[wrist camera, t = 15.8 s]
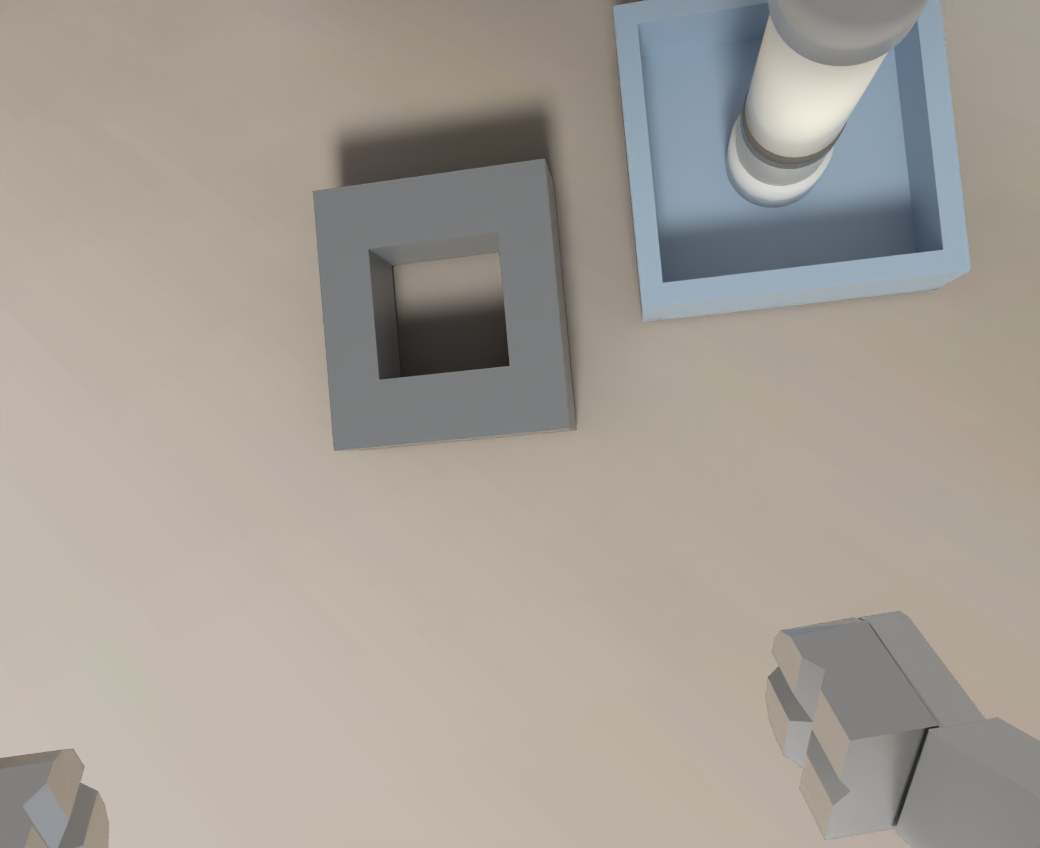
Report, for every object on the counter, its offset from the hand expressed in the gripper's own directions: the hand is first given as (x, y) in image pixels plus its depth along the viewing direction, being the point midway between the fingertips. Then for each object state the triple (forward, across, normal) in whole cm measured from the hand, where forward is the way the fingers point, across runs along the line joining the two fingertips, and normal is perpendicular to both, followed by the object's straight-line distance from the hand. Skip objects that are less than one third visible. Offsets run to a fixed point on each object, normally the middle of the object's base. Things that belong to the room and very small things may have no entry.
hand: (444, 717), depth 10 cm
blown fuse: (+24, -14, +2) cm, 28 cm away
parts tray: (+25, -15, +2) cm, 29 cm away
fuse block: (+25, -2, +7) cm, 26 cm away
